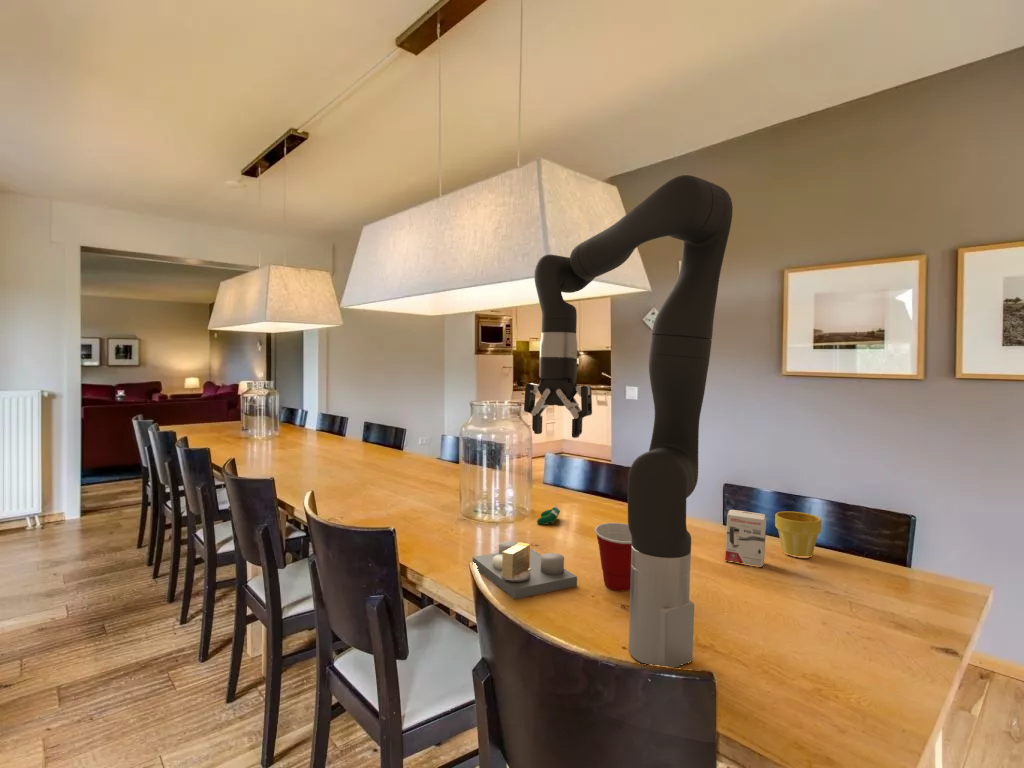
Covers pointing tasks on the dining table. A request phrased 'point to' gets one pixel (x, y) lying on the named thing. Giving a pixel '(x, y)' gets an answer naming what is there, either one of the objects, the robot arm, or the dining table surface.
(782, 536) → the plant pot
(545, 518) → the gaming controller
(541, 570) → the base
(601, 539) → the plastic cup
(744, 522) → the ink box
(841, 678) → the dining table surface
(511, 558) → the wing knob
